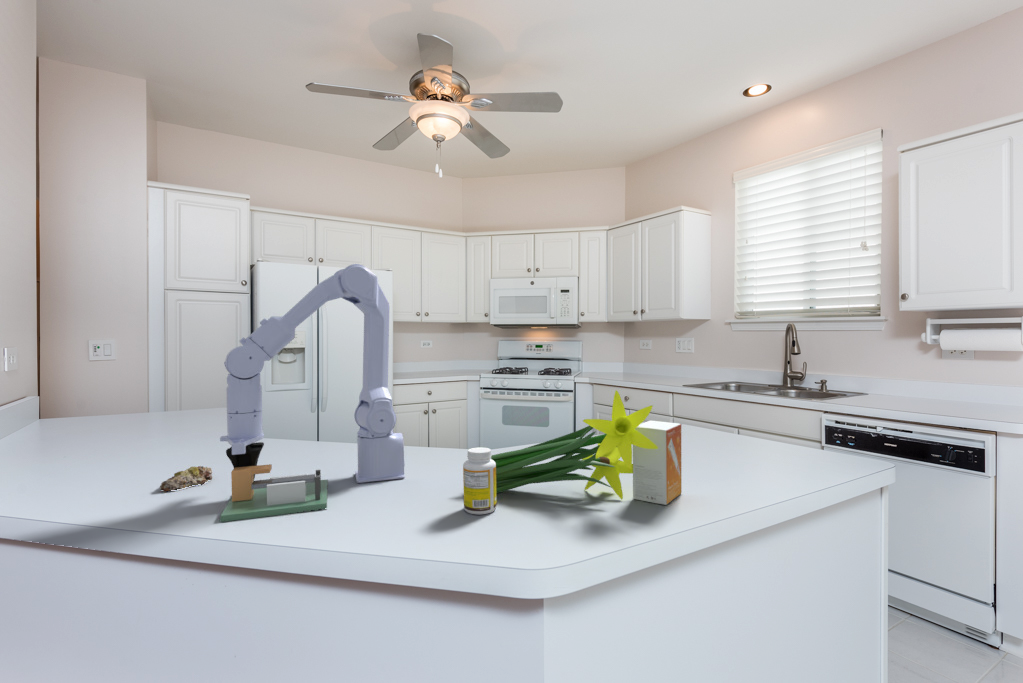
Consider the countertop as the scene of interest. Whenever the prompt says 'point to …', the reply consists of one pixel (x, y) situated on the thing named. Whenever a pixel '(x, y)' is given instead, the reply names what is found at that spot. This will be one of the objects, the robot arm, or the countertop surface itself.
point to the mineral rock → (187, 478)
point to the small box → (658, 463)
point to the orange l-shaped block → (245, 481)
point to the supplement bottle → (479, 482)
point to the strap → (283, 480)
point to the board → (274, 509)
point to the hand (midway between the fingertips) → (246, 484)
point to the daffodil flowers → (605, 460)
